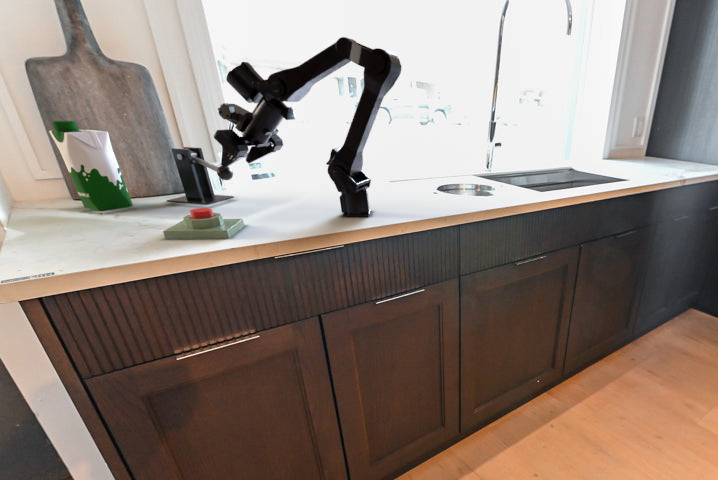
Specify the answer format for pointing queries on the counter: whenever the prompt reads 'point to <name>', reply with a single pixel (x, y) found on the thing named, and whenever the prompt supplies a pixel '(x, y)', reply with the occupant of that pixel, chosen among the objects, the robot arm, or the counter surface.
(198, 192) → the bracket
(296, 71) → the robot arm
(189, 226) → the button block
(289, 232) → the counter surface
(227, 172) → the lever
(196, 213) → the button
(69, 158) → the milk carton
